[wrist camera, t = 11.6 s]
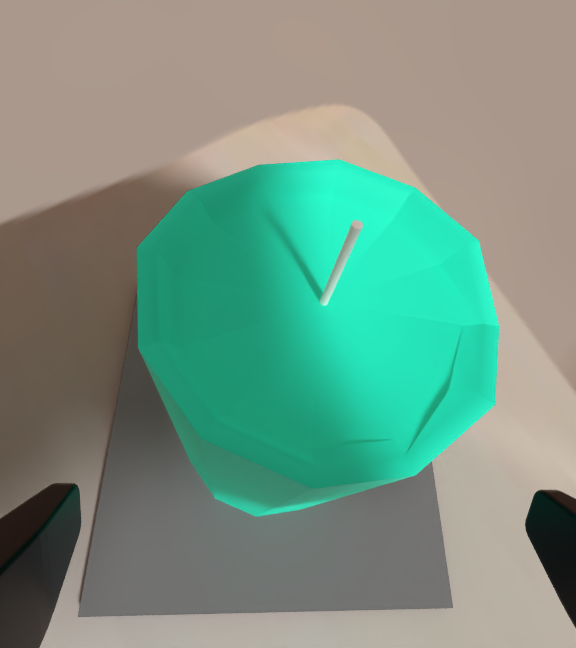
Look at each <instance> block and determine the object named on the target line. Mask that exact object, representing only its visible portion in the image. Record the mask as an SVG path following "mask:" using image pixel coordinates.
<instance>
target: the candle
mask: <svg viewBox="0 0 576 648" xmlns="http://www.w3.org/2000/svg"><path fill="white" fill-rule="evenodd" d="M137 306H138V348H139V351H140V353H141V355H142V357H143V359H144V361H145V364H146V366H147V368H148V370H149V372H150V375H151V377H152V379H153V381H154V383H155V385H156V388H157V390H158V392H159V394H160V396H161V399H162V401H163V403H164V405H165V407H166V409H167V412H168V414H169V416H170V418H171V420H172V423H173V425H174V427H175V429H176V431H177V433H178V436H179V438H180V440H181V442H182V444H183V447H184V449H185V451H186V453H187V455H188V458H189V460H190V462H191V463H192V465H193V466H194V468H195V469H196V471H197V472H198V474H199V475H200V477H201V478H202V480H203V481H204V483H205V484H206V486H207V487H208V489H209V490H210V492H211V493H212V495H213V496H214V498H215V499H217V500H220V501H222V502H224V503H226V504H229V505H231V506H233V507H235V508H238V509H240V510H242V511H244V512H246V513H249V514H251V515H253V516H255V517H257V516H264V515H270V514H276V513H283V512H289V511H296V510H301V509H304V508H308V507H311V506H314V505H318V504H321V503H325V502H328V501H331V500H335V499H338V498H341V497H345V496H348V495H351V494H355V493H358V492H361V491H365V490H368V489H372V488H375V487H378V486H382V485H385V484H388V483H392V482H395V481H398V480H402V479H405V478H409V477H412V476H415V475H417V474H418V473H419V472H420V471H421V470H422V469H423V468H425V467H426V466H427V465H428V464H429V463H430V462H431V461H432V460H434V459H435V458H436V457H437V456H438V455H439V454H440V453H441V452H443V451H444V450H445V449H446V448H447V447H448V446H449V445H450V444H452V443H453V442H454V441H455V440H456V439H457V438H458V437H459V436H461V435H462V434H463V433H464V432H465V431H466V430H467V429H468V428H470V427H471V426H472V425H473V424H474V423H475V422H476V421H477V420H479V419H480V418H481V417H482V416H483V415H484V414H485V413H486V412H488V411H489V410H490V409H491V408H492V407H493V406H494V405H495V395H496V376H497V358H498V339H499V324H498V320H497V315H496V311H495V307H494V303H493V299H492V294H491V290H490V286H489V282H488V277H487V273H486V269H485V265H484V261H483V256H482V253H481V248H480V244H479V240H477V239H476V238H475V237H474V236H473V235H471V234H470V233H469V232H468V231H467V230H465V229H464V228H463V227H462V226H461V225H460V224H458V223H457V222H456V221H455V220H453V219H452V218H451V217H450V216H449V215H448V214H446V213H445V212H444V211H443V210H442V209H440V208H439V207H438V206H437V205H436V204H434V203H433V202H432V201H431V200H430V199H428V198H427V197H426V196H425V195H424V194H422V193H421V192H420V191H419V190H418V189H416V188H415V187H412V186H409V185H407V184H404V183H401V182H399V181H396V180H393V179H391V178H388V177H385V176H382V175H380V174H377V173H374V172H372V171H369V170H366V169H364V168H361V167H358V166H356V165H353V164H350V163H348V162H345V161H342V160H340V159H339V160H324V161H309V162H294V163H279V164H264V165H257V166H254V167H252V168H249V169H246V170H244V171H241V172H238V173H235V174H233V175H230V176H227V177H224V178H222V179H219V180H216V181H213V182H211V183H208V184H205V185H203V186H200V187H197V188H194V189H192V190H189V191H187V192H186V193H185V194H184V195H183V196H182V198H181V199H180V200H179V201H178V202H177V203H176V204H175V205H174V206H173V208H172V209H171V210H170V211H169V212H168V213H167V214H166V215H165V217H164V218H163V219H162V220H161V221H160V222H159V223H158V224H157V226H156V227H155V228H154V229H153V230H152V231H151V232H150V233H149V235H148V236H147V237H146V238H145V239H144V240H143V241H142V242H141V244H140V245H139V246H138V247H137Z"/></svg>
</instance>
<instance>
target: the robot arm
mask: <svg viewBox="0 0 576 648" xmlns="http://www.w3.org/2000/svg"><path fill="white" fill-rule="evenodd" d="M80 527H81V510H80V494H79V488H78V486H77V485H76V484H74V483H54V484H52V485H50V486H48V487H47V488H45V489H44V490H42V491H41V492H39V493H38V494H36V495H35V496H33V497H32V498H30V499H29V500H27V501H26V502H24V503H23V504H21V505H20V506H18V507H17V508H15V509H14V510H12V511H11V512H9V513H8V514H6V515H5V516H4V517H2V518H1V519H0V648H39V647H40V645H41V643H42V641H43V638H44V636H45V633H46V631H47V628H48V626H49V623H50V621H51V618H52V615H53V612H54V609H55V606H56V603H57V600H58V597H59V594H60V591H61V588H62V585H63V582H64V579H65V576H66V573H67V570H68V566H69V563H70V560H71V557H72V554H73V551H74V548H75V545H76V542H77V539H78V536H79V532H80ZM525 527H526V532H527V535H528V537H529V539H530V541H531V543H532V545H533V547H534V549H535V551H536V553H537V555H538V557H539V559H540V561H541V563H542V565H543V567H544V569H545V571H546V573H547V575H548V577H549V579H550V581H551V583H552V585H553V587H554V589H555V591H556V593H557V595H558V597H559V599H560V601H561V603H562V605H563V606H564V608H565V610H566V612H567V614H568V616H569V617H570V619H571V621H572V623H573V624H574V626H575V628H576V499H575V498H573V497H571V496H569V495H567V494H565V493H563V492H561V491H558V490H539V491H537V492H536V493H535V494H534V497H533V500H532V503H531V506H530V509H529V512H528V515H527V518H526V522H525Z"/></svg>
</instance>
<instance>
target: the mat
mask: <svg viewBox="0 0 576 648" xmlns="http://www.w3.org/2000/svg"><path fill="white" fill-rule="evenodd" d="M431 608H453V604H452V597H451V590H450V583H449V576H448V570H447V563H446V556H445V549H444V542H443V535H442V528H441V521H440V514H439V508H438V501H437V494H436V487H435V480H434V473H433V466H432V461H431V462H430V463H429V464H428V465H427V466H426V467H425V468H423V469H422V470H421V471H420V472H419V473H418V474H417V475H415V476H412V477H409V478H405V479H402V480H398V481H395V482H392V483H388V484H385V485H382V486H378V487H375V488H372V489H368V490H365V491H361V492H358V493H355V494H351V495H348V496H345V497H341V498H338V499H335V500H331V501H328V502H325V503H321V504H318V505H314V506H311V507H308V508H304V509H301V510H296V511H289V512H283V513H276V514H270V515H264V516H257V517H255V516H253V515H251V514H249V513H246V512H244V511H242V510H240V509H238V508H235V507H233V506H231V505H229V504H226V503H224V502H222V501H220V500H217V499H215V498H214V496H213V495H212V493H211V492H210V490H209V489H208V487H207V486H206V484H205V483H204V481H203V480H202V478H201V477H200V475H199V474H198V472H197V471H196V469H195V468H194V466H193V465H192V463H191V462H190V460H189V458H188V455H187V453H186V451H185V449H184V447H183V444H182V442H181V440H180V438H179V436H178V433H177V431H176V429H175V427H174V425H173V423H172V420H171V418H170V416H169V414H168V412H167V409H166V407H165V405H164V403H163V401H162V399H161V396H160V394H159V392H158V390H157V388H156V385H155V383H154V381H153V379H152V377H151V375H150V372H149V370H148V368H147V366H146V364H145V361H144V359H143V357H142V355H141V353H140V351H139V348H138V306H137V296H136V301H135V307H134V312H133V317H132V323H131V328H130V334H129V339H128V345H127V350H126V356H125V361H124V367H123V372H122V378H121V383H120V389H119V394H118V400H117V405H116V411H115V416H114V422H113V427H112V433H111V438H110V444H109V449H108V454H107V460H106V465H105V471H104V476H103V482H102V487H101V493H100V498H99V504H98V509H97V515H96V520H95V526H94V531H93V537H92V542H91V548H90V553H89V559H88V564H87V570H86V575H85V580H84V586H83V591H82V597H81V602H80V608H79V613H78V617H92V616H135V615H177V614H219V613H262V612H304V611H346V610H389V609H431Z"/></svg>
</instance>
